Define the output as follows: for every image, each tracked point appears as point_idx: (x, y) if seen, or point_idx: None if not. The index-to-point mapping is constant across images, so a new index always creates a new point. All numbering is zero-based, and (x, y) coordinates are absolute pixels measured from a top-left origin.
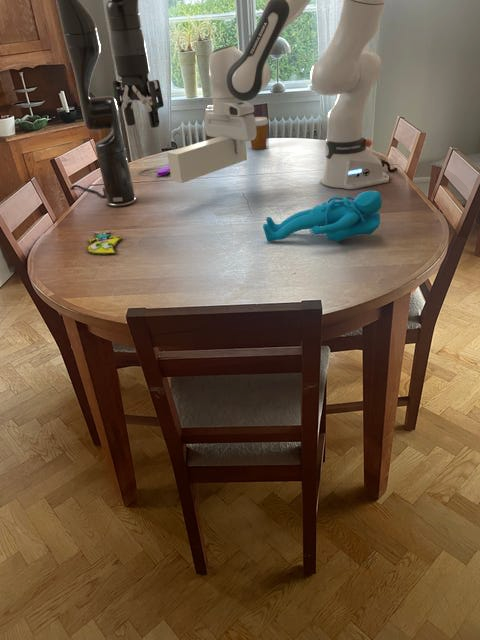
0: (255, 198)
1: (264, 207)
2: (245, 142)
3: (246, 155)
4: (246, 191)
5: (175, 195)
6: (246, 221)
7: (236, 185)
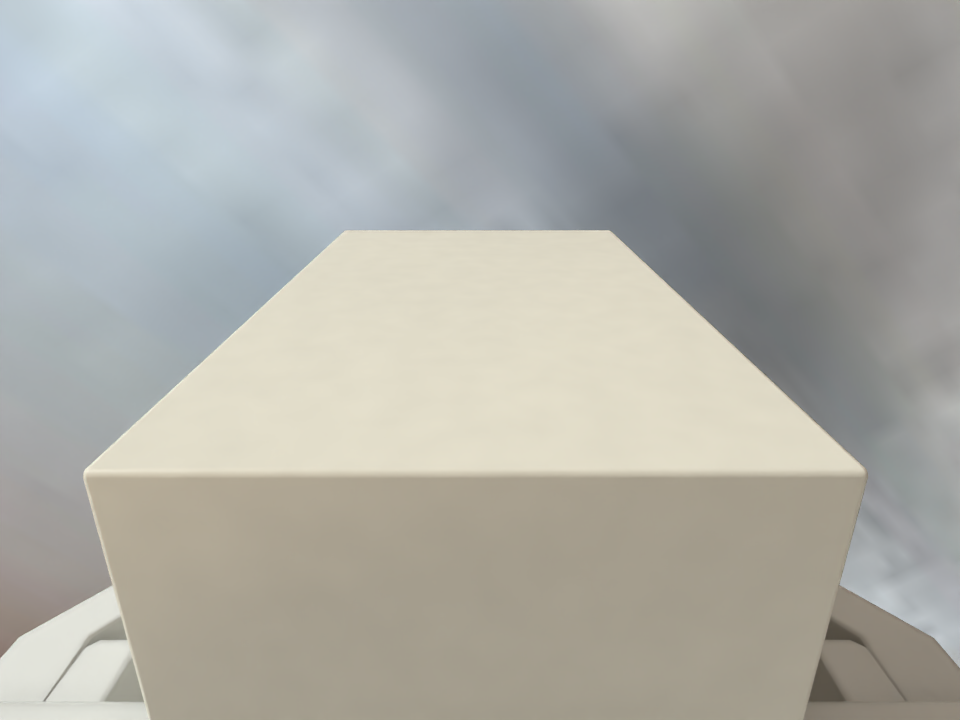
0: (726, 289)
1: (915, 403)
2: (711, 327)
3: (627, 248)
4: (523, 188)
5: (85, 571)
6: (923, 629)
7: (288, 96)
